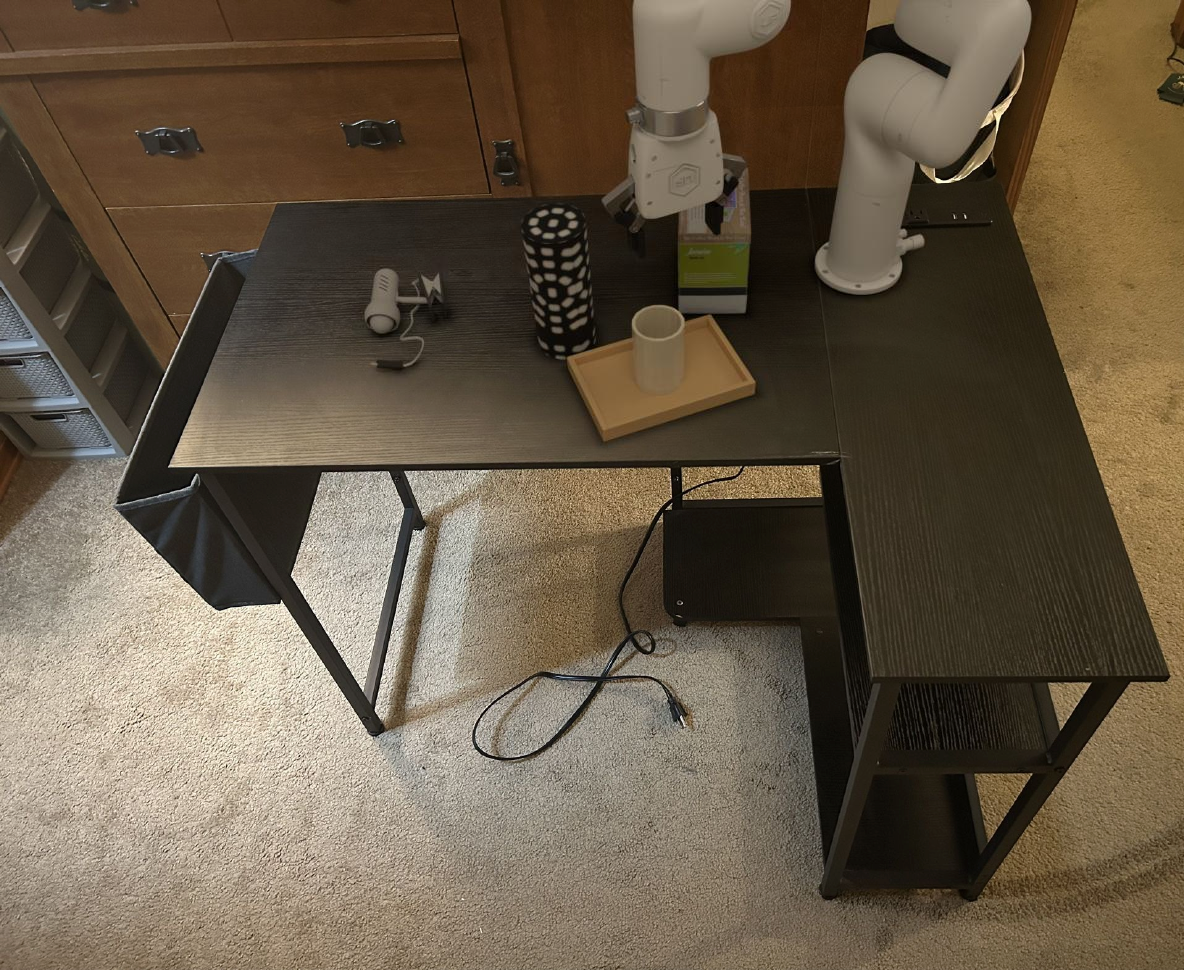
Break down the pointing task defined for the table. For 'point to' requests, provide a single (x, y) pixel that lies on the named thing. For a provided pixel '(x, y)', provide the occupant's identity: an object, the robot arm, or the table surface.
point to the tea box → (715, 256)
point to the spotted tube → (559, 279)
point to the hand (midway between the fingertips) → (675, 240)
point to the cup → (658, 349)
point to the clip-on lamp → (386, 313)
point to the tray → (629, 409)
